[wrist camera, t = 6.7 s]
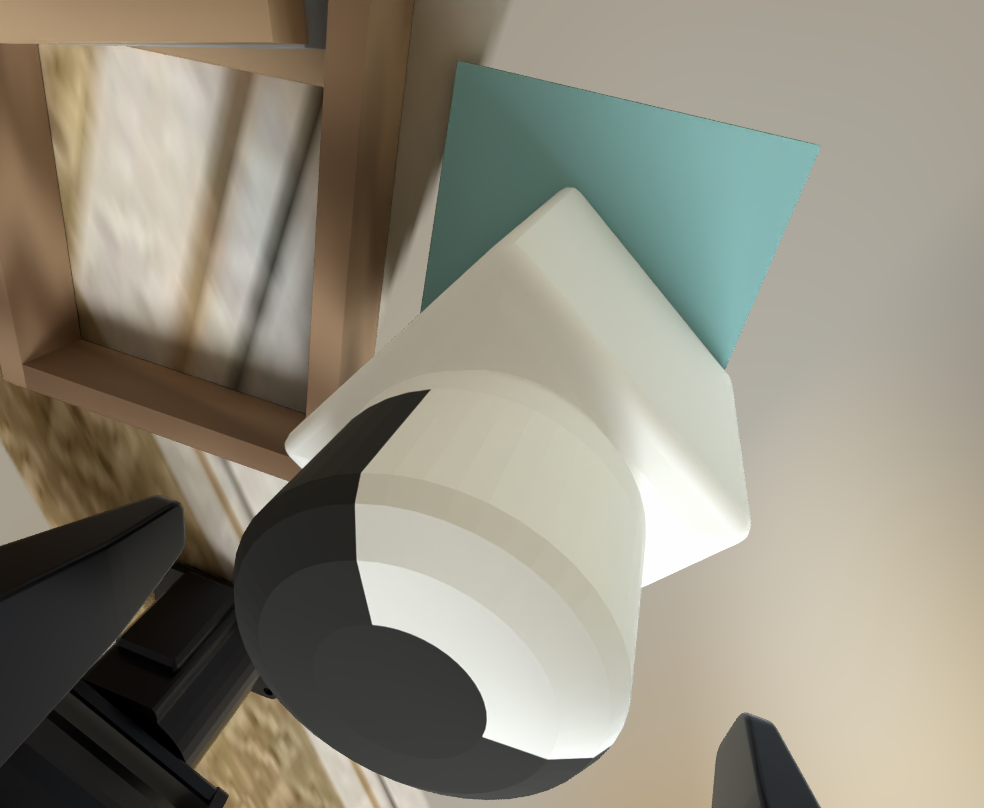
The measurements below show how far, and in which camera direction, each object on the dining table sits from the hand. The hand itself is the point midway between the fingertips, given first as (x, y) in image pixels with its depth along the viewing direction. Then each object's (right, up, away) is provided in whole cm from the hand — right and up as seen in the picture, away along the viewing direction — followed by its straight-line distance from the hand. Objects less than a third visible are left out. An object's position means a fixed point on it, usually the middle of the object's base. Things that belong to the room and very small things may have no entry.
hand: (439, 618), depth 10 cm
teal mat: (+3, +5, +9) cm, 11 cm away
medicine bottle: (+3, +5, +9) cm, 11 cm away
